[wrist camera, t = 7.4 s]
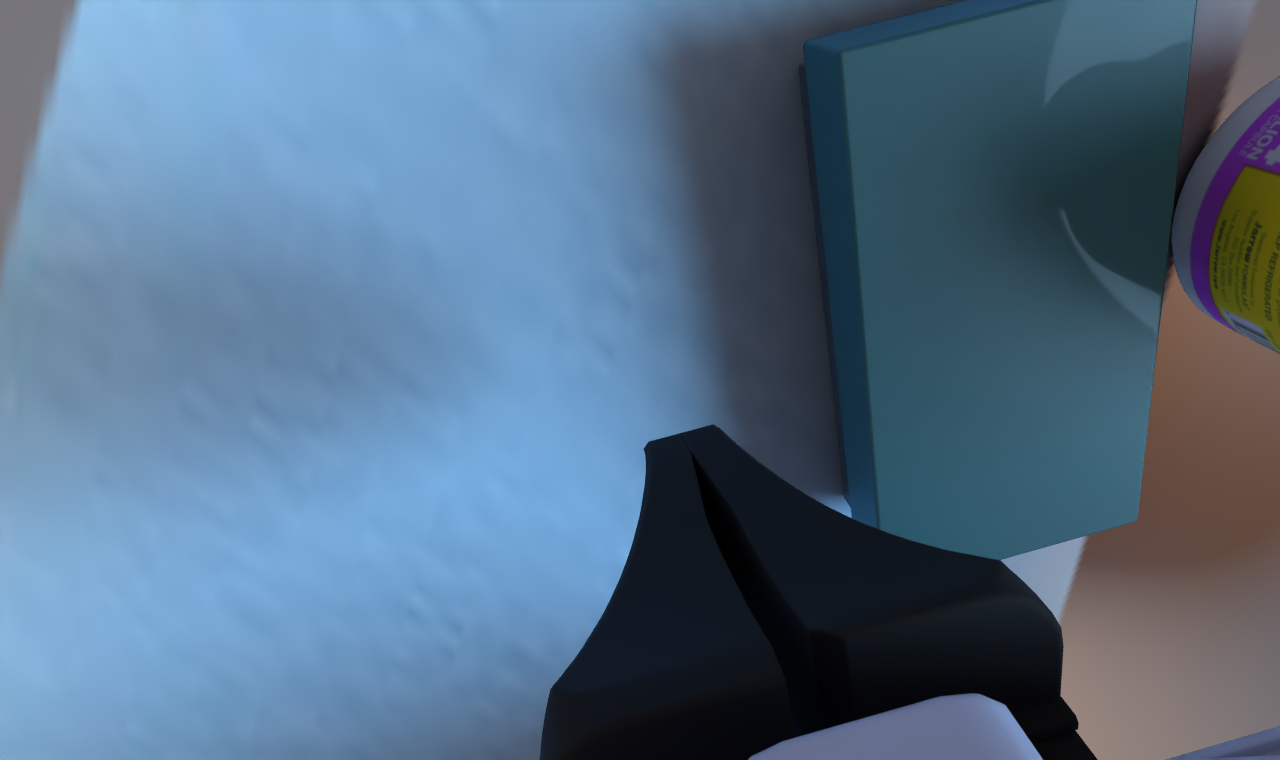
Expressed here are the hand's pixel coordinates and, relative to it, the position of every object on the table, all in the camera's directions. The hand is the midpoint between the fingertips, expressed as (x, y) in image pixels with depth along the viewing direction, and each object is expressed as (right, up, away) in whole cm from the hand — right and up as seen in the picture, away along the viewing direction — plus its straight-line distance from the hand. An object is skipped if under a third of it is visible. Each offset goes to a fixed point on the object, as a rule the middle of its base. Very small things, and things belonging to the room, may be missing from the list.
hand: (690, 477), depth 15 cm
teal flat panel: (+6, +4, +4) cm, 9 cm away
